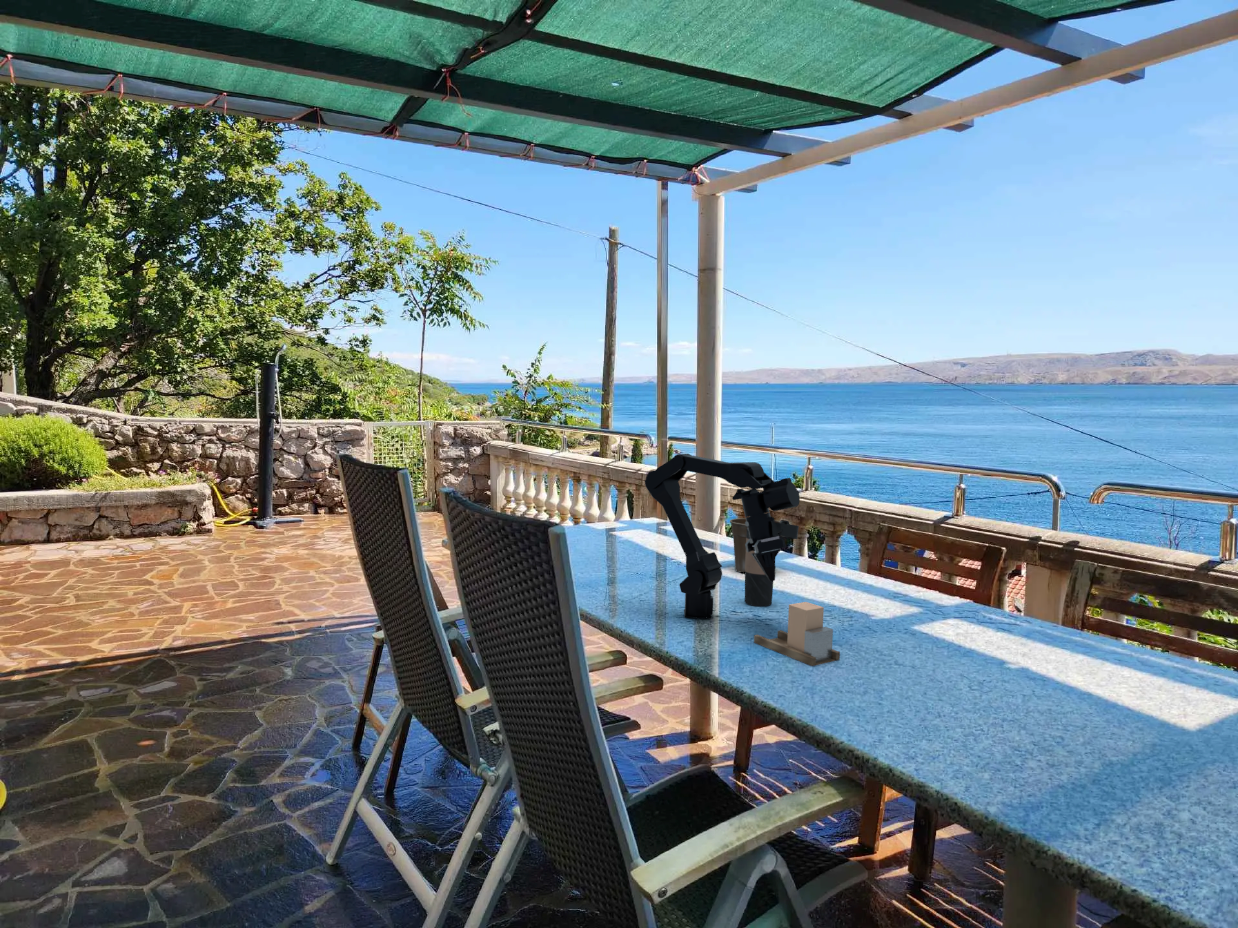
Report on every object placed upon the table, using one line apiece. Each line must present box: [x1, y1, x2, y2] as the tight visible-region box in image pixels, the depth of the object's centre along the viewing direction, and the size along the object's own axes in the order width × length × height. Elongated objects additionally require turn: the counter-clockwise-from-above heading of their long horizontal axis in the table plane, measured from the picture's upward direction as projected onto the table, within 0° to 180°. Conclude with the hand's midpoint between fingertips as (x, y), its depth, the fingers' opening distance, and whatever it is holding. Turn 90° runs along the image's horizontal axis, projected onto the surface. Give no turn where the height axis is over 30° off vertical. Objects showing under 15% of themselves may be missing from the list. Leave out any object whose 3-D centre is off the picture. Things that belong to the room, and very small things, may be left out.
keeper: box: [787, 601, 825, 653], centre depth 158 cm, size 5×5×10 cm
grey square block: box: [804, 626, 834, 662], centre depth 155 cm, size 2×6×7 cm, turn 122°
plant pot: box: [729, 517, 781, 574], centre depth 241 cm, size 16×16×16 cm
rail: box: [753, 629, 841, 667], centre depth 160 cm, size 17×8×2 cm, turn 32°
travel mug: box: [744, 528, 774, 608], centre depth 201 cm, size 8×8×20 cm
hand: (772, 580), depth 175 cm, fingers closed
